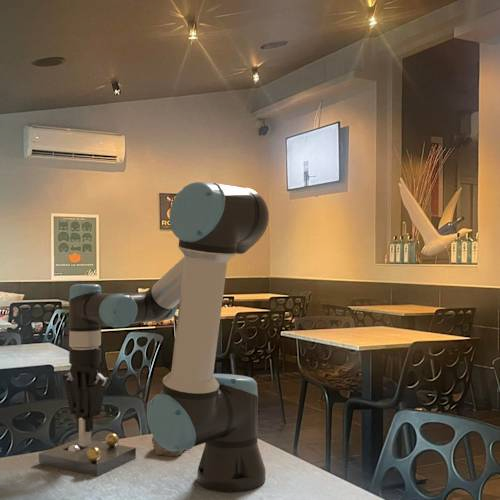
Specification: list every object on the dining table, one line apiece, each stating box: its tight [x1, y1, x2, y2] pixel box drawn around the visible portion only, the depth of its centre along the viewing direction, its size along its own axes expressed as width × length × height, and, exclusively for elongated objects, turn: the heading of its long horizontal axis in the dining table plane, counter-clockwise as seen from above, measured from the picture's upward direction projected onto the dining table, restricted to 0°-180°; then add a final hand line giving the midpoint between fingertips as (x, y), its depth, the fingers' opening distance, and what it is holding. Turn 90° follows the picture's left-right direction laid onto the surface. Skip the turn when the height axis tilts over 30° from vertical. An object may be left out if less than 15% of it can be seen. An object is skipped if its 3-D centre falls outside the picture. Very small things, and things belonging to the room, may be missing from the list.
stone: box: [151, 436, 185, 457], centre depth 157 cm, size 13×6×10 cm
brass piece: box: [87, 447, 101, 462], centre depth 141 cm, size 3×3×3 cm
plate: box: [38, 438, 137, 477], centre depth 148 cm, size 18×14×2 cm
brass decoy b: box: [104, 432, 120, 447], centre depth 152 cm, size 3×3×3 cm
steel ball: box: [67, 445, 80, 452], centre depth 150 cm, size 3×3×3 cm
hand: (84, 444), depth 149 cm, fingers closed
